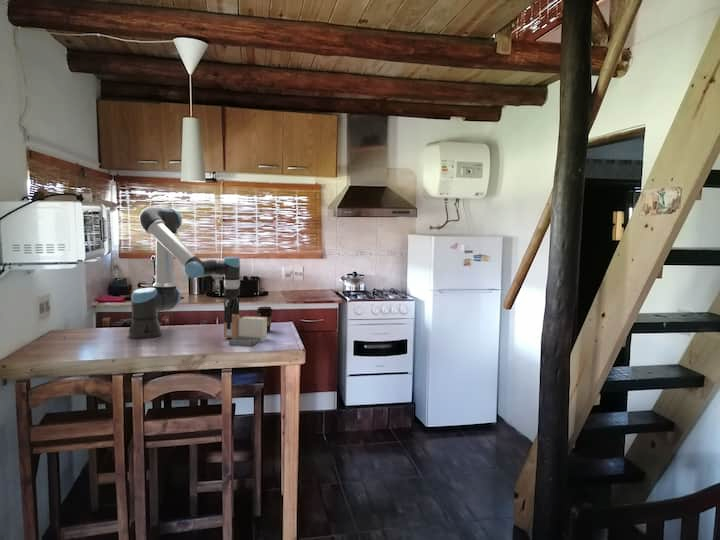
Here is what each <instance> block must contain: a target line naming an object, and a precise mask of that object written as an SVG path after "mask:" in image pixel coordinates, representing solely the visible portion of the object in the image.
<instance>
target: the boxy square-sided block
mask: <svg viewBox="0 0 720 540" xmlns="http://www.w3.org/2000/svg"><path fill="white" fill-rule="evenodd" d="M239 336H246V337H259V342H260V343H261V342H265V341H266V340H267V339H268V332H267V317H257V315H256V316H253V315H243V316H240V318H239Z"/></svg>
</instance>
